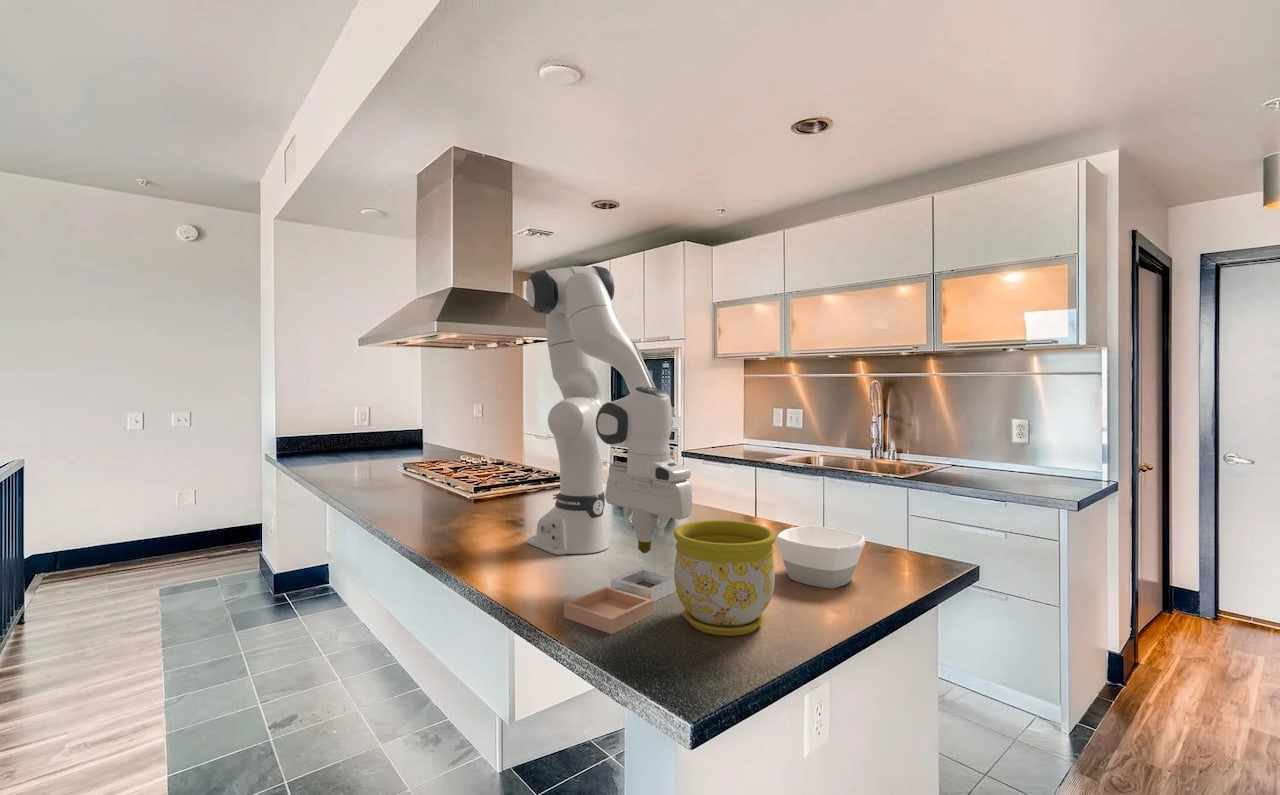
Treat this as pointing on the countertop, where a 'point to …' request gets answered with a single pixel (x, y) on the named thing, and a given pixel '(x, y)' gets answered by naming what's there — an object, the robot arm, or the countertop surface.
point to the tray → (608, 609)
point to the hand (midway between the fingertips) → (645, 532)
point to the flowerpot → (724, 574)
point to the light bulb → (644, 528)
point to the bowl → (820, 555)
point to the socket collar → (630, 581)
